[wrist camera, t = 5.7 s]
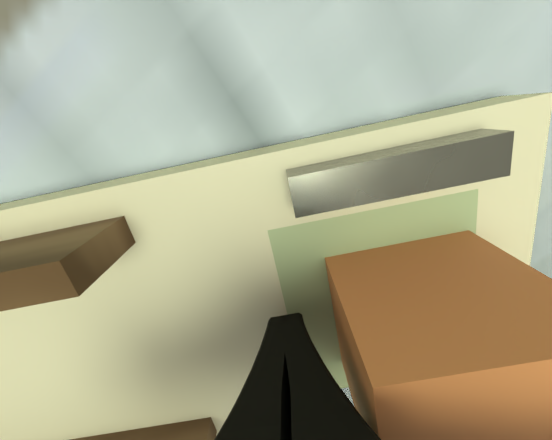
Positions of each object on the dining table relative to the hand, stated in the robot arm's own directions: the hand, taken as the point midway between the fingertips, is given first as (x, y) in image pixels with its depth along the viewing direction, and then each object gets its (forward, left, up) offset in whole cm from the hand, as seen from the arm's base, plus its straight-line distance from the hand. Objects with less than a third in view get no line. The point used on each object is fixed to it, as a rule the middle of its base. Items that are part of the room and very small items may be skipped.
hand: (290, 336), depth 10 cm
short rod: (+5, -4, -1) cm, 7 cm away
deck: (-3, +4, -3) cm, 5 cm away
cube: (0, -4, -1) cm, 4 cm away
